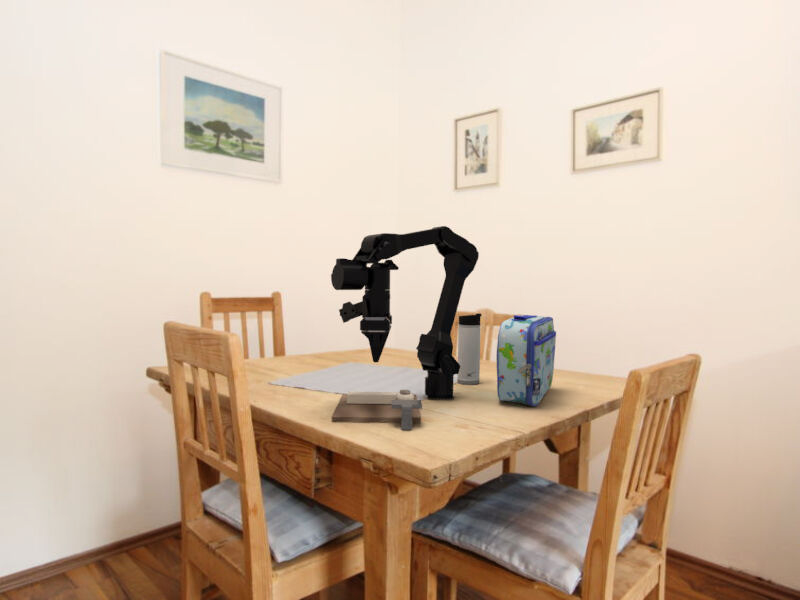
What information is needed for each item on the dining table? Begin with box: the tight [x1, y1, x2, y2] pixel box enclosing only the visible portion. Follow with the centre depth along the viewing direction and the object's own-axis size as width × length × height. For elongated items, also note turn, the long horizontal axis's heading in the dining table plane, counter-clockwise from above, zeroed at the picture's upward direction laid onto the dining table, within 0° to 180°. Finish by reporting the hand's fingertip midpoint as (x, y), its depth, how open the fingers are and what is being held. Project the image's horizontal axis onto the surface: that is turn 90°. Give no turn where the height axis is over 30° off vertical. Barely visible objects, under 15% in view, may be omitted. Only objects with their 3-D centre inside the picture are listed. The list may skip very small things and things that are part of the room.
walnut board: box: [331, 389, 422, 424], centre depth 110 cm, size 18×21×4 cm
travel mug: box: [456, 312, 482, 386], centre depth 140 cm, size 6×7×20 cm
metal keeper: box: [391, 399, 423, 431], centre depth 97 cm, size 6×6×4 cm
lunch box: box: [496, 314, 557, 407], centre depth 123 cm, size 26×11×21 cm, turn 153°
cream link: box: [346, 391, 415, 404], centre depth 111 cm, size 15×4×2 cm, turn 91°
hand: (377, 358), depth 111 cm, fingers open, 9 cm apart
